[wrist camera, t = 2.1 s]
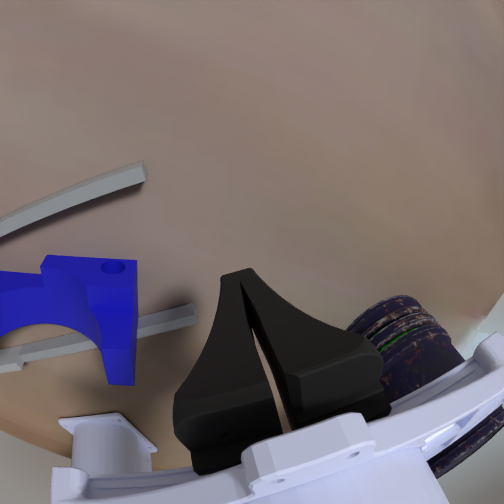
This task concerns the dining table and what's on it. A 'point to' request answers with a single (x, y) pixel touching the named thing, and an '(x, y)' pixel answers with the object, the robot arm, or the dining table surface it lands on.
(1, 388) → the dining table surface
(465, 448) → the storage jar
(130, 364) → the blue arched bracket
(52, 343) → the grey u-shaped frame
